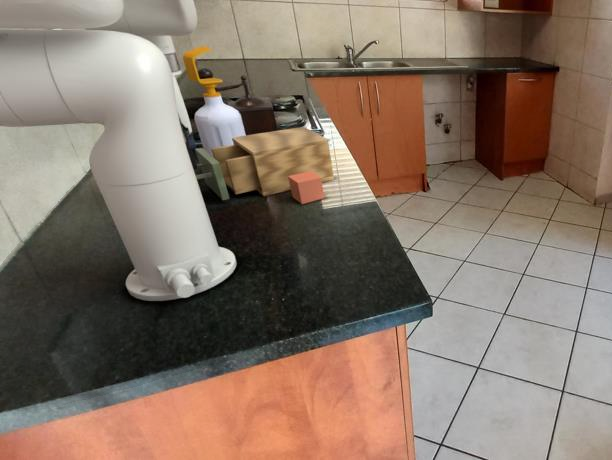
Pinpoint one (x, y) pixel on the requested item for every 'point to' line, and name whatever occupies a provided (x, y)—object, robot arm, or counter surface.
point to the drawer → (228, 170)
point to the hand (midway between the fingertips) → (186, 169)
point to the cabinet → (286, 157)
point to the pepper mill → (249, 107)
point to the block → (306, 187)
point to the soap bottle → (213, 109)
